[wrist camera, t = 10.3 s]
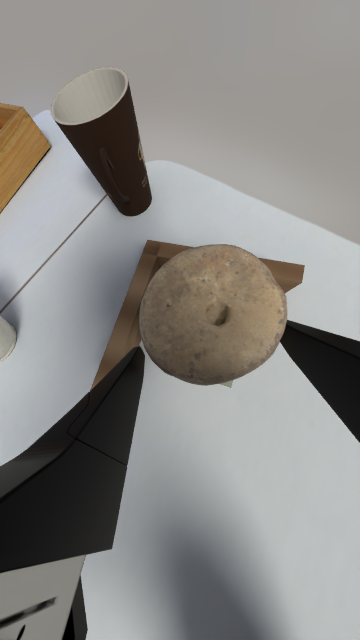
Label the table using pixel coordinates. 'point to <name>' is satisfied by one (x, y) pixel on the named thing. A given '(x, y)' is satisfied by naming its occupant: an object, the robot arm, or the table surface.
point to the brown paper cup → (106, 135)
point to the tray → (18, 149)
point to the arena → (149, 264)
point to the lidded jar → (6, 338)
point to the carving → (212, 314)
